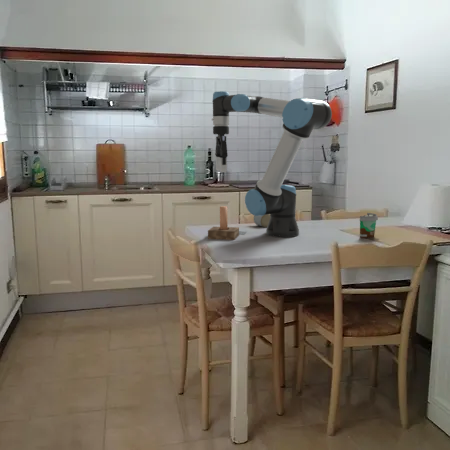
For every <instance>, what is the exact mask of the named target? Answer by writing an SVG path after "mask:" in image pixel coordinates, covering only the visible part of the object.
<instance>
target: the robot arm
mask: <svg viewBox="0 0 450 450" xmlns="http://www.w3.org/2000/svg"><path fill="white" fill-rule="evenodd" d="M230 113H250V114H251V113H253V114H260V115H265V116H271V117H278V118H282V122H283V124H282V129H283V133H282V135H281V138H280V139H279V142H278V143H277V146H276V148H275V151H274V153H273V155H272V157H271V159H270V161H269V164H268V165H267V168H266V171H265V172H264V175H263V177H262V179H259V180H257V182H256V184H255V186H254V188H252V189H249V190H248V191H246V194H245V196H244V204H245V208H246V209H247V211H248V212H249V213H250V215H252V216H254V215H255V216H263V215H268V214H270V220H269V223H268V226H267V227H266V230H265V234H266V235H267V236H269V237H275V238H292V237H293V238H294V237H297V236H299V235H300V229H299V226H298V222H297V219H296V211H297V210H296V209H297V208H296V207H297V206H296V205H297V191H296V190H297V189H296V187H295V186H294V185H287V184H283V183H284V181H285V179H286V177H287V175H288V173H289V172H290V168H291V166H292V164H293V162H294V161H295V158H296V156H297V155H298V152H299V150H300V148H301V146H302V144H303V141H304V140H306V139H309V138H310V135H311V134H312V132H313V130H320V129H323V128H325V127H327V126H328V125H329V124H330V122H331V119H332V116H333V112H332V108H331V106H330V104H329V103H327V102H326V101H323V100H321V99H312V98H306V97H301V98H294V99H293V98H292V99H291V100H286V99H277V98H272V97H264V96H259V95H258V96H254V95H246V94H244V93H237V94H230V93H229V92H228V91H226V90H225V91H214V92H213V93H212V118H211V121H212V125H213V127H212V134H213V135H217V136H216V138H215V153H214V155H215V170H216V171H220V173H227V172H228V168H227V167H228V166H227V165H228V163H227V162H228V161H227V159H228V156H229V154H228V146H227V135H229V134H230V127H229V125H230Z"/></svg>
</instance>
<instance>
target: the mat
mask: <svg viewBox="0 0 450 450" xmlns="http://www.w3.org/2000/svg"><path fill="white" fill-rule="evenodd" d="M247 233H248V231H240V230H239V236H245V235H246V234H247Z"/></svg>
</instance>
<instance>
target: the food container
mask: <svg viewBox="0 0 450 450" xmlns="http://www.w3.org/2000/svg"><path fill="white" fill-rule="evenodd" d="M377 221H378V215H377V214H376V213H373V212H372V213H371V212H367V214H366V215H361V216H359V238H360V239H373V238H375V234H376V227H377V226H376V225H377Z"/></svg>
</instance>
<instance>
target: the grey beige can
mask: <svg viewBox="0 0 450 450" xmlns="http://www.w3.org/2000/svg"><path fill="white" fill-rule="evenodd" d="M269 220H270V214H268V215H263V216H255V215H253V222H254V224H255V225H256V226H259V227H262V228H267V226H268V223H269Z"/></svg>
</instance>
